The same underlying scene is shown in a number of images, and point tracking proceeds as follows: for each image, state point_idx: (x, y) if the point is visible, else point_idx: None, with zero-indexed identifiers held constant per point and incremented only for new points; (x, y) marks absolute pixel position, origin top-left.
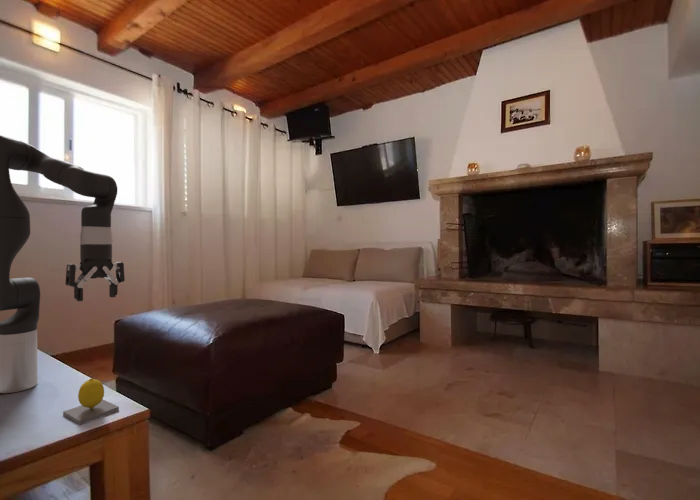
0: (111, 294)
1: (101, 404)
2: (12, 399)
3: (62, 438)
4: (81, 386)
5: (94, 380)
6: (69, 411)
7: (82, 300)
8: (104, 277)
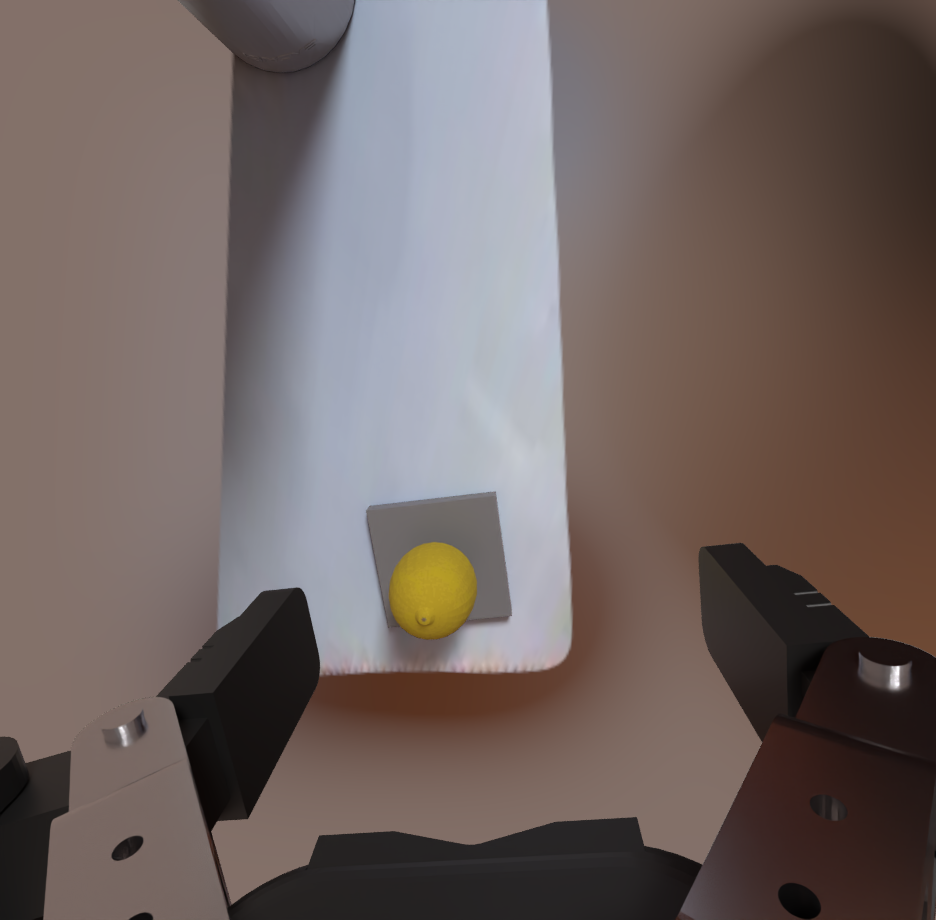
0: (715, 616)
1: (477, 549)
2: (252, 167)
3: (336, 668)
4: (392, 603)
5: (434, 626)
6: (381, 526)
7: (314, 678)
8: (769, 737)
